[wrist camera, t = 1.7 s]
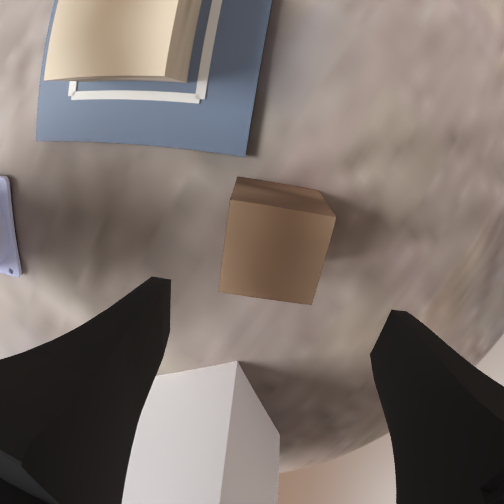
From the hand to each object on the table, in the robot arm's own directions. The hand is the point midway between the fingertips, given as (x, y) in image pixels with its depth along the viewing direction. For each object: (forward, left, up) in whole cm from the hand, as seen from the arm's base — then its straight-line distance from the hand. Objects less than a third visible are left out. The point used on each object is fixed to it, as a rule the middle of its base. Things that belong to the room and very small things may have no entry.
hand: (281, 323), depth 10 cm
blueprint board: (-9, +10, -9) cm, 16 cm away
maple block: (-9, +10, -8) cm, 16 cm away
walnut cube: (0, 0, -9) cm, 9 cm away
